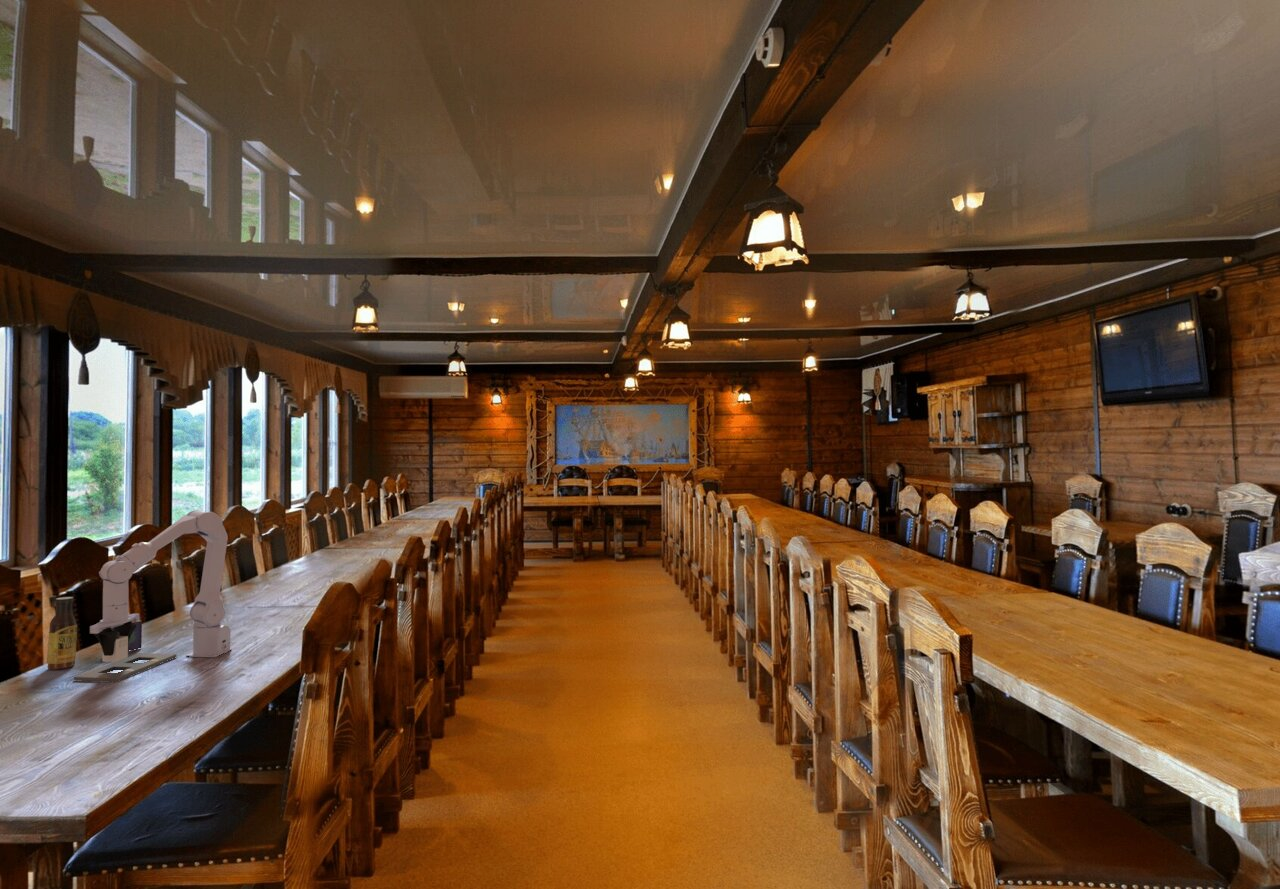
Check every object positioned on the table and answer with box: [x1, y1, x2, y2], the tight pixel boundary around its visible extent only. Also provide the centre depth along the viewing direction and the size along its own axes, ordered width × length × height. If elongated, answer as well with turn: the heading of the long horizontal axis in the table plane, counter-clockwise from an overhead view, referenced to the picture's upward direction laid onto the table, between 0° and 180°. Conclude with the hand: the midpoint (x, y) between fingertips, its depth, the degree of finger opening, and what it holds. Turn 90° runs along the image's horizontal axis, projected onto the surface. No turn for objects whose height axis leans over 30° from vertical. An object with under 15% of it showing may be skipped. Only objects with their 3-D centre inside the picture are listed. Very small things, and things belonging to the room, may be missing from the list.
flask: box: [111, 619, 143, 652], centre depth 213 cm, size 9×3×11 cm, turn 146°
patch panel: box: [73, 652, 177, 683], centre depth 196 cm, size 12×22×1 cm, turn 176°
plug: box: [101, 632, 129, 663], centre depth 192 cm, size 5×4×7 cm
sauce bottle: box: [47, 596, 78, 671], centre depth 198 cm, size 6×6×20 cm
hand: (115, 652), depth 192 cm, fingers closed on plug, 4 cm apart
